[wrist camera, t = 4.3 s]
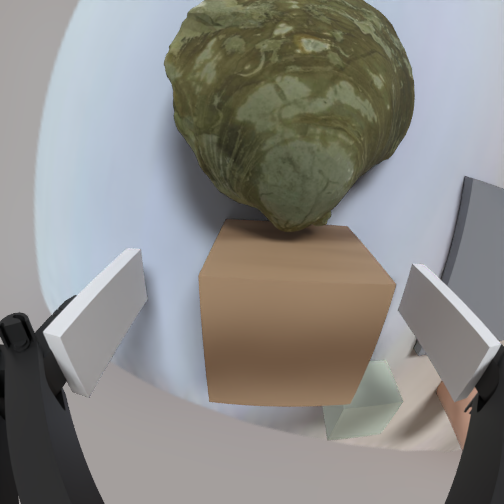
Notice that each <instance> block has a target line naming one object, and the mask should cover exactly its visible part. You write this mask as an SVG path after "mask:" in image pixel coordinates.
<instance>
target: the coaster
mask: <svg viewBox="0 0 504 504" xmlns="http://www.w3.org/2000/svg"><path fill="white" fill-rule="evenodd" d="M441 281H442V282H443V283H444V284H446V285H447V286H448V287H449V288H450V289H451V290H452V291H453V292H454V293H455V294H456V295H457V296H458V297H459V298H460V299H461V300H462V301H463V302H464V303H465V304H466V305H467V307H468V308H469V309H470V310H471V311H472V312H473V313H474V314H475V315H476V316H477V317H478V318H479V319H480V320H481V321H482V322H483V324H485V326H486V327H487V328H488V329H489V330H490V331H491V332H492V333H493V335H494V336H495V337H496V338H497V339H498V340H499V341H502V340H504V189H503V188H500V187H497V186H494V185H491V184H488V183H485V182H482V181H479V180H476V179H473V178H470V177H467V176H465V180H464V187H463V193H462V199H461V204H460V210H459V215H458V220H457V224H456V229H455V233H454V237H453V241H452V245H451V249H450V252H449V256H448V259H447V263H446V266H445V269H444V273H443V276H442V279H441ZM414 349H415V351H416V353H417V355H426V352H425V351H424V349H423V348H422V346H421V344H420V343H419V341H418V340H417V343H416V345H415V347H414Z"/></svg>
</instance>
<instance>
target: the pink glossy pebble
mask: <svg viewBox="0 0 504 504" xmlns="http://www.w3.org/2000/svg"><path fill="white" fill-rule="evenodd" d="M477 392H478V391H477V390H476V388H475V387H474V389H473V390H472V392H471V393H470V394H469V396H468V397H467V398H466V399H463V400H460V401H456V402H454V401H453V399H452V397H451V395H450V393H449V392H448V390H447V388H446V386H445V385H444V383H443V381H441V383H440V384H439V386H438V388H437V396H438V398H439V400H440V402H441V404H442V406H443V408H444V410H445V412H446V414H447V416H448V419H449V421H450V423H451V425H452V428H453V430H454V432H455V434H456V437H457V439H458V442H459V444H460V446H461V449H462V451H463V448H464V444H465V440H466V436H467V431H468V427H469V422H470V416H471V414H469V412H470V411H471V410H472V407H470V408H469V409H468V410H467V412H466V413H465V412H464V410H465V408H466V407H467V406H468V404H469V403H470V402H471V400H472V399H473V398H474V396H475V395H476V394H477Z"/></svg>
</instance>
